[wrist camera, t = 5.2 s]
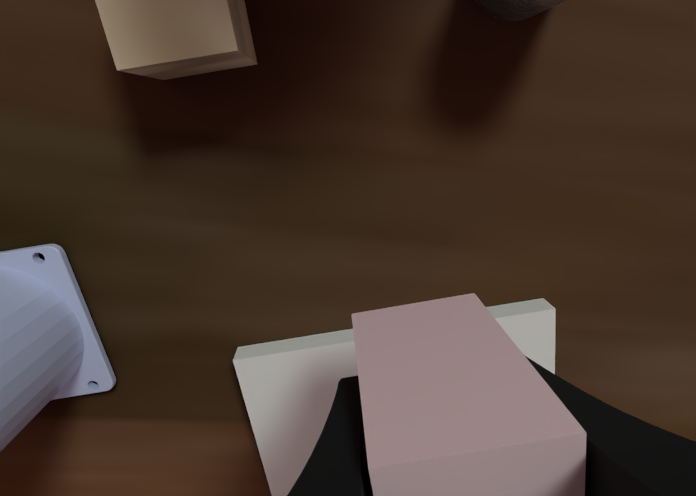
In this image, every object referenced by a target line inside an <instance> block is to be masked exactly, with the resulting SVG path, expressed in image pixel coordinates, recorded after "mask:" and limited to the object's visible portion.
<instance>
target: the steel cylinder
mask: <svg viewBox="0 0 696 496" xmlns="http://www.w3.org/2000/svg"><path fill="white" fill-rule="evenodd" d="M476 1H477V3H478V4H479V6H480V7H481V8H482V9H483V10H484V11H485V12H486V13H488V14H489V15H490V16H492V17H494V18H496V19H499V20H502V21H509V22H514V21H521V20H525V19H528V18H530V17H532V16H535V15H537V14H539V13H541V12H543V11H545V10H547V9H549V8H551V7H553V6H556V5H558V4H560V3H562V2H564V1H566V0H476Z"/></svg>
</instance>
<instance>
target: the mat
mask: <svg viewBox="0 0 696 496" xmlns="http://www.w3.org/2000/svg"><path fill="white" fill-rule="evenodd" d="M486 308H487V310H488V311H489V312H490V313H491V315H492V316H493V317H494V318H495V320H496V321H497V322H498V323H499V325H500V326H501V327H502V328H503V329H504V331H505V332H506V333H507V334H508V336H509V337H510V338H511V339H512V341H513V342H514V343H515V344H516V346H517V347H518V348H519V349H520V351H521V352H522V353H523V354H524V355H525V356H526V357H528V358H529V359H531V360H533V361H534V362H536V363H537V364H539V365H541V366H542V367H544V368H545V369H547V370H548V371H550V372H552V373H553V374H555V308H554V307H553V306H552V305H551V304H549V303H548V302H547V301H546V300H545V299H544V298H541V299H535V300H528V301H522V302H516V303H510V304H503V305H497V306H491V307H486ZM233 363H234V367H235V370H236V373H237V377H238V380H239V384H240V387H241V391H242V394H243V398H244V401H245V405H246V408H247V412H248V415H249V418H250V422H251V425H252V429H253V432H254V436H255V439H256V443H257V446H258V450H259V453H260V457H261V460H262V463H263V467H264V470H265V474H266V477H267V481H268V484H269V488H270V491H271V495H272V496H287V495H288V493H289V492H290V490H291V489H292V487H293V486H294V484H295V482H296V481H297V479H298V477H299V476H300V474H301V472H302V471H303V469H304V467H305V465H306V463H307V461H308V460H309V458H310V456H311V454H312V452H313V450H314V448H315V445H316V443H317V441H318V439H319V437H320V435H321V433H322V430H323V428H324V425H325V423H326V420H327V418H328V415H329V413H330V410H331V407H332V404H333V401H334V398H335V395H336V391H337V387H338V382H339V381H340V379H341V378H346V377H352V376H357V375H358V369H357V360H356V351H355V341H354V332H353V329H348V330H342V331H335V332H329V333H323V334H317V335H310V336H304V337H298V338H292V339H285V340H279V341H273V342H267V343H261V344H254V345H248V346H242V347H238V348H237V351H236V353H235V356H234V359H233Z"/></svg>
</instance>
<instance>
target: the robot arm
mask: <svg viewBox="0 0 696 496" xmlns="http://www.w3.org/2000/svg"><path fill="white" fill-rule="evenodd" d="M38 253H41V254H43V256H44V257H45V260H42V259H41V258H40V257H39V254H38ZM524 356H525V355H524ZM525 357H526V356H525ZM526 358H527V359H528V361H529V362H530V363H531V364H532V366H533V367H534V368H535V369H536V371H537V372H538V373H539V374H540V376H541V377H542V378H543V379H544V380H545V382H546V383H547V384H548V385H549V387H550V388H551V389H552V390H553V392H554V393H555V394H556V395H557V397H558V398H559V399H560V400H561V402H562V403H563V404H564V405H565V407H566V408H567V409H568V410H569V412H570V413H571V414H572V415H573V417H574V418H575V419H576V420H577V422H578V423H579V424H580V425H581V426H582V428H583V429H584V430H585V431H586V433H587V437H586V471H585V496H696V442H695V441H692V440H689V439H687V438H684V437H682V436H679V435H676V434H674V433H671V432H668V431H666V430H663V429H661V428H659V427H656V426H654V425H651V424H649V423H647V422H645V421H642V420H640V419H638V418H636V417H633V416H631V415H629V414H627V413H625V412H622V411H620V410H618V409H616V408H614V407H612V406H610V405H608V404H606V403H604V402H603V401H601V400H599V399H597V398H595V397H593V396H591V395H589V394H587V393H586V392H584V391H582V390H580V389H579V388H577V387H575V386H573V385H572V384H570V383H568V382H567V381H565V380H563V379H562V378H560V377H558V376H557V375H555V374H553V373H552V372H550V371H548V370H547V369H545V368H544V367H542V366H541V365H539V364H537V363H536V362H534V361H533V360H531V359H529V358H528V357H526ZM93 381H95V382H97V383H98V385H97V384H95V383H93ZM115 383H116V377H115V375H114V372H113V370H112V367H111V365H110V362H109V360H108V357H107V355H106V352H105V350H104V347H103V345H102V342H101V340H100V338H99V335H98V333H97V330H96V328H95V325H94V323H93V320H92V318H91V315H90V313H89V310H88V308H87V305H86V303H85V300H84V298H83V295H82V293H81V291H80V288H79V286H78V283H77V281H76V278H75V276H74V273H73V271H72V268H71V266H70V263H69V261H68V258H67V256H66V253H65V251H64V250H63V248H62V247H60V246H59V245H57V244H45V245H39V246H33V247H27V248H20V249H14V250H8V251H2V252H0V452H1V451H2V450H3V449H4V448H5V447H6V446H7V445H8V444H9V443H10V442H11V441H12V439H13V438H14V437H15V436H16V435H17V434H18V433H19V432H20V431H21V430H22V429H23V428H24V427H25V426H26V425H27V424H28V423H29V422H30V421H31V420H32V419H33V418H34V417H35V416H36V415H37V414H38V413H39V412H40V411H41V410H42V409H43V408H44V407H45V406H46V404H47V403H48V402H49V401H50V400H54V399H60V398H67V397H73V396H79V395H85V394H92V393H98V392H104V391H108V390H110V389H112V388H113V386H114V385H115ZM287 496H373V490H372V485H371V480H370V475H369V470H368V462H367V452H366V443H365V434H364V425H363V415H362V406H361V397H360V388H359V378H358V375H357V376H352V377H346V378H341V379H340V381H339V382H338V387H337V391H336V395H335V398H334V401H333V404H332V407H331V410H330V413H329V415H328V418H327V420H326V423H325V425H324V428H323V430H322V433H321V435H320V437H319V439H318V441H317V443H316V445H315V448H314V450H313V452H312V454H311V456H310V458H309V460H308V461H307V463H306V465H305V467H304V469H303V471H302V472H301V474H300V476H299V477H298V479H297V481H296V482H295V484H294V486H293V487H292V489H291V490H290V492H289V493H288V495H287Z"/></svg>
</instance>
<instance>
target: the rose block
mask: <svg viewBox="0 0 696 496" xmlns="http://www.w3.org/2000/svg"><path fill="white" fill-rule="evenodd" d="M352 323H353V332H354V341H355V351H356V360H357V369H358V378H359V388H360V397H361V406H362V415H363V425H364V434H365V443H366V452H367V462H368V470H369V475H370V480H371V485H372V490H373V496H585V471H586V437H587V433H586V431H585V430H584V429H583V428H582V426H581V425H580V424H579V423H578V422H577V420H576V419H575V418H574V417H573V415H572V414H571V413H570V412H569V410H568V409H567V408H566V407H565V405H564V404H563V403H562V402H561V400H560V399H559V398H558V397H557V395H556V394H555V393H554V392H553V390H552V389H551V388H550V387H549V385H548V384H547V383H546V382H545V380H544V379H543V378H542V377H541V376H540V374H539V373H538V372H537V371H536V369H535V368H534V367H533V366H532V364H531V363H530V362H529V361H528V359H527V358H526V357H525V356H524V354H523V353H522V352H521V351H520V349H519V348H518V347H517V346H516V344H515V343H514V342H513V341H512V339H511V338H510V337H509V336H508V334H507V333H506V332H505V331H504V329H503V328H502V327H501V326H500V325H499V323H498V322H497V321H496V320H495V318H494V317H493V316H492V315H491V313H490V312H489V311H488V310H487V308H486V307H485V306H484V305H483V303H482V302H481V301H480V300H479V298H478V297H477V296H476V295H475V293H472V294H466V295H460V296H454V297H449V298H443V299H437V300H431V301H425V302H419V303H413V304H407V305H401V306H396V307H390V308H384V309H378V310H372V311H366V312H360V313H354V314H352Z"/></svg>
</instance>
